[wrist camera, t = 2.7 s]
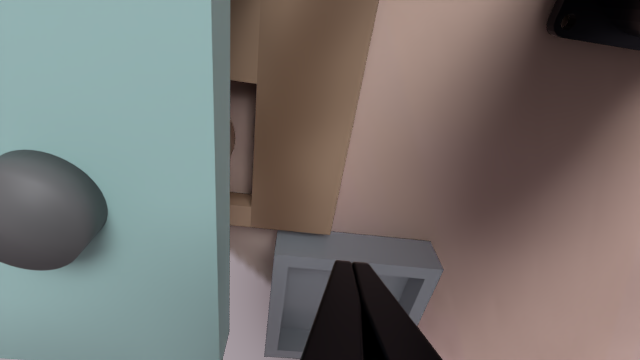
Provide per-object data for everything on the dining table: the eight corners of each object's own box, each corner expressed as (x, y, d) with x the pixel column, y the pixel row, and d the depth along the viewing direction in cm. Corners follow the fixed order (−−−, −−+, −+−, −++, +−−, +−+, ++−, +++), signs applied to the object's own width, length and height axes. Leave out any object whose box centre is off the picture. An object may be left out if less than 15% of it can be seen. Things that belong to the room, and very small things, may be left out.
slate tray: (430, 241, 17) (443, 269, 15) (391, 334, 21) (398, 364, 19) (278, 226, 16) (274, 254, 15) (268, 325, 20) (264, 356, 19)
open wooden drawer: (392, -95, 10) (409, -113, 8) (329, 221, 16) (331, 249, 14) (-287, -229, 8) (-443, -285, 7) (-66, 181, 15) (-116, 207, 13)
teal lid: (268, -117, 8) (175, -339, 2) (251, 238, 14) (211, 402, 8) (4, -168, 7) (-851, -598, 2) (102, 223, 13) (-45, 390, 8)
